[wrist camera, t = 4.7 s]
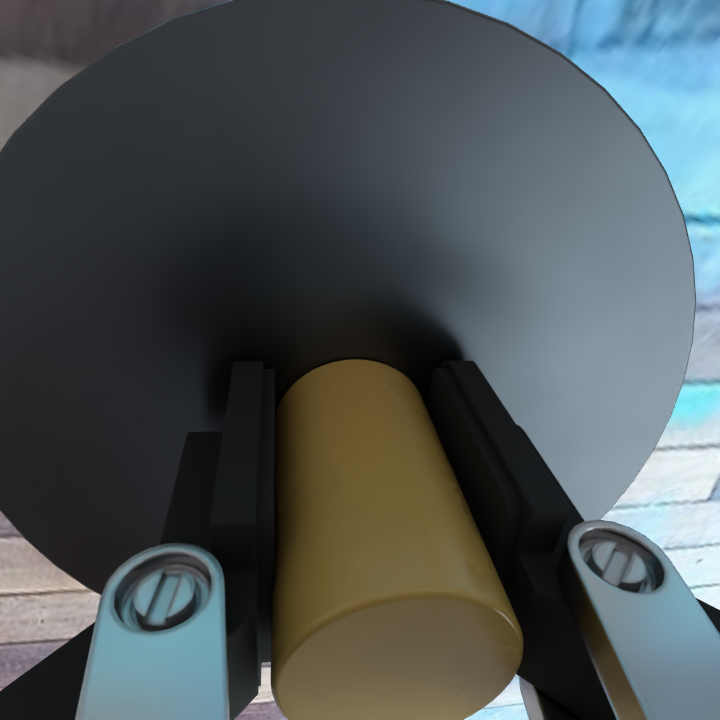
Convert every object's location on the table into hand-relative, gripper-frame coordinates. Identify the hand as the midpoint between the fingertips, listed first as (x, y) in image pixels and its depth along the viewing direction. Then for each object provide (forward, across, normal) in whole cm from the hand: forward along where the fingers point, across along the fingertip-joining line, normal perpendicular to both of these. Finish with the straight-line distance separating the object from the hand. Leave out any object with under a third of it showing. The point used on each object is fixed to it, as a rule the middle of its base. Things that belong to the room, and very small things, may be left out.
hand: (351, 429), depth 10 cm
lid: (+1, 0, 0) cm, 1 cm away
